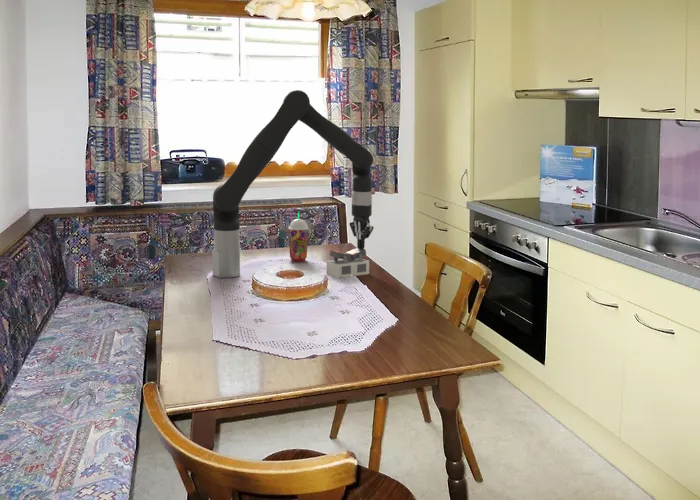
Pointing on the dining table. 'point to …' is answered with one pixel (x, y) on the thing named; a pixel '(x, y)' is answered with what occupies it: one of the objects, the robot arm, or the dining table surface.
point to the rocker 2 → (356, 253)
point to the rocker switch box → (347, 267)
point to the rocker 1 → (339, 254)
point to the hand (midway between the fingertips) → (360, 248)
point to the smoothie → (298, 240)
